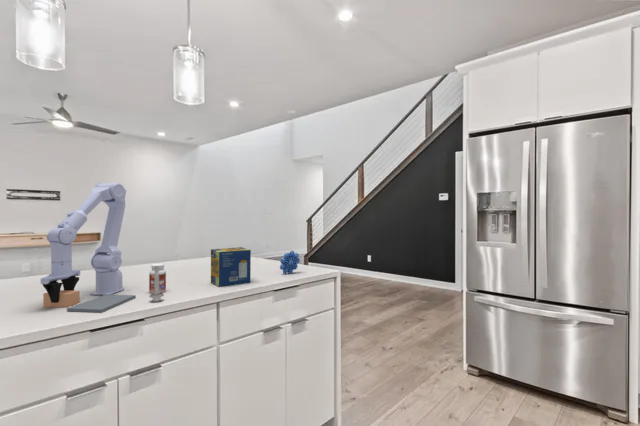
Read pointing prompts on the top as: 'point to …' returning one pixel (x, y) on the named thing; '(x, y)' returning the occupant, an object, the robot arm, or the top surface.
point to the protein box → (230, 266)
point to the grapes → (289, 262)
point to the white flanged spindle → (156, 287)
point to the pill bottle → (161, 278)
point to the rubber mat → (101, 303)
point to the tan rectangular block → (63, 299)
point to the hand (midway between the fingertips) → (61, 300)
